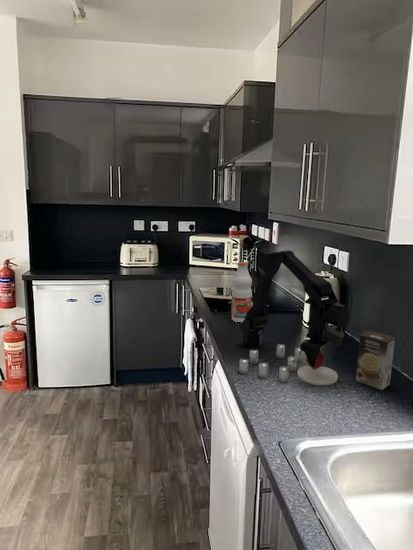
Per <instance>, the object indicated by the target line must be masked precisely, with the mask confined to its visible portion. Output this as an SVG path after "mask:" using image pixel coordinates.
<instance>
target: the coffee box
mask: <svg viewBox="0 0 413 550" xmlns="http://www.w3.org/2000/svg"><path fill="white" fill-rule="evenodd" d="M395 339H396V337H393V336H390V335H386V334H384V333H379V332H375V331H372V330H367V331H365V332H363V333H362V334H360V335H359V342H358V343H359V344H358V355H357V356H358V357H357V366H356V375H355V381H356V382H357V383H360V384H364V385H367V386H370V387H372V388H374V387H375V389H378V390H381V391H383V390H384V389H386V388H387V387H388V386H390V383H391V375H392V368H393V359H394V352H395V351H394V350H395V344H396V343H395V341H396V340H395Z"/></svg>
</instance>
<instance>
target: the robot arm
mask: <svg viewBox="0 0 413 550" xmlns="http://www.w3.org/2000/svg"><path fill="white" fill-rule="evenodd" d="M257 259H258V260H257V268H258V269H257V270H258V271H259V275H258V281H257V285H256V289H255V294H254V298H253V300H252V301H253V302H252V307H251V308H250V309H249V311H248V312H247V314H246V316H245V319H244V321H243V322H242V323H239V325H238V326H239V330H240V332H242V343H241V346H242V347H246V348H251V349H257V348H259V346H261V345H262V338H263V337H262V335H263V334H262V333H261V332H262V331H264V330H265V327H266V326H267V324H268V321H269V318H270V316H269V314H268V313H267V311H266V306H267V303H268V300H269V299H268V298H269V294H270V291H271V290H270V289H271V286H272V282H273V278H274V276H275V274H277V273H278V271H280V268H281V266H282V265H284V266H285V267H286V269H288V270H289V271H290V272H291V273H292V274H293V276H294V277H295V278H296V279H298V281H300V283H301V284H302V285H303V291H304V292H305V294H306V295H307V296H308V298H307V299H305V300H304V304H308V305H309V309H308V320H307V322H306V326H307V327H308V328H307V333H306V335H305V337H306V338H305V339H304V340H303V341H301V343H300V344H299V345H300V346H299V347H300V350H301V351H304V355H305V358H306V357H307V359H308V361H309V364H310V366H311V367H313V368H314V366H315V363H316V359H317V355H318V354H320V353H321V352H322V351H324V349H323V347H324V345H326V344H327V343H328V342H330V343H332V344H333V345H334V346H337V347H339V346H340V344H341V342H342V341H343V339H344V336H345V332H343V328H345V327H346V326H348V324H349V321H350V317H351V315H350V312H349V310H347V306H346V305H345V304H340V303H339V300H338V297H337V295H336V293H335V291H334V289H333V285H332V283H331V282H330V281H329V280H328V279H326V278H324V277H323V276H320V275H318V274H315V273H313V271H312V270H310V269H309V267H307V266H306V265H305V263H304V262H303V261H301V260H300V259H299V257H297V256H296V255H295V253H294V252H293V250H287V249H286V250H280V251H269V252H262V253H260V254H259V255H258V258H257ZM338 303H339V304H338ZM329 325H332V326H333V327H331V326H329ZM334 326H335V327H334ZM322 353H323V352H322Z"/></svg>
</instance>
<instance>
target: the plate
mask: <svg viewBox="0 0 413 550" xmlns="http://www.w3.org/2000/svg"><path fill="white" fill-rule="evenodd" d="M296 375H297V378H298V379H299V380H301V381H302V382H304V383H306V384H309V385H313V386H314V385H315V386H322V387H323V386H331V385H334V384H336V383H337V381H338V377H339V375H338V373H337V372H336V371H335V370H334V369H332V368H331V367H330V368H329V367H326V366H323V365H322V366H321V367H319V368H317V369H315V370H314V369H312V368H311V367H310V366H309V365H308V364H307V365H304V366H301V367H299V368H298V369H297V374H296Z"/></svg>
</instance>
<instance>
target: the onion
mask: <svg viewBox="0 0 413 550" xmlns="http://www.w3.org/2000/svg"><path fill="white" fill-rule="evenodd" d="M305 362H306V364H307V366H308V365H309V366H310V364H309V361H308V359H307V357H306V356H305ZM324 362H325V356H324V354H323V352H321V353H320V354H318V355H317V359H316V363H315V366H314V368H313V367H311V366H310V367H311V368H312V369H314V370H315V369H317V368H319V367H321V366H323V365H324Z"/></svg>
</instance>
